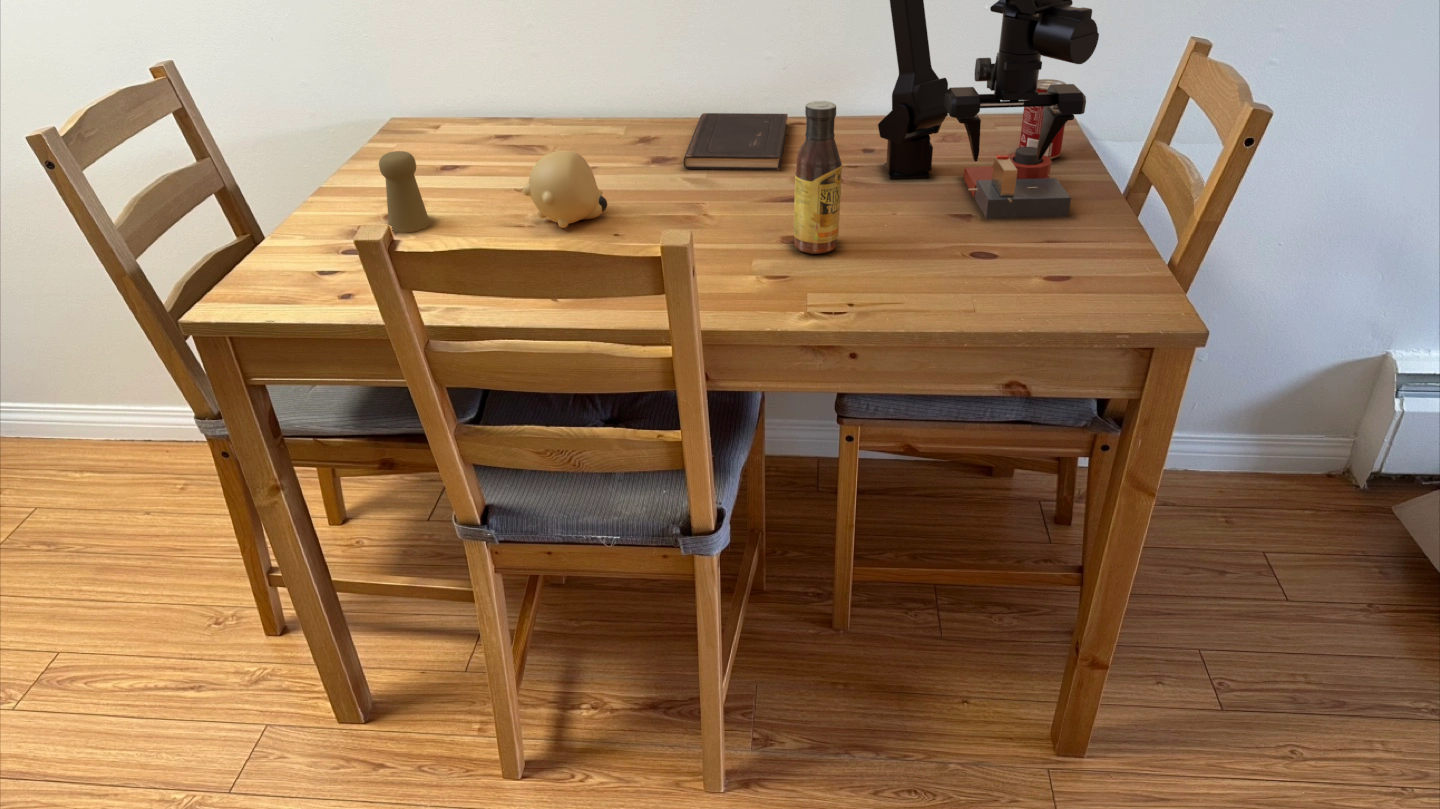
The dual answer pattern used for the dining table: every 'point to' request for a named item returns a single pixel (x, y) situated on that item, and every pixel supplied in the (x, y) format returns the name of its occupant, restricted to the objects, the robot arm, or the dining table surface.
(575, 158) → the tan rounded figure
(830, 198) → the sauce bottle
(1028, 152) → the button
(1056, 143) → the soda can
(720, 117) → the hardcover book
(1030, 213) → the dark grey panel
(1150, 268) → the dining table surface
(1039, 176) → the button box
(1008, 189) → the tan and red box
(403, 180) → the brown game pawn
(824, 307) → the dining table surface
